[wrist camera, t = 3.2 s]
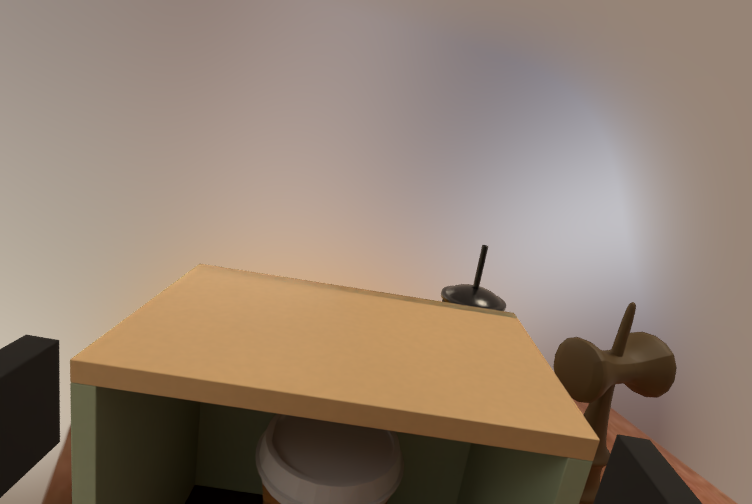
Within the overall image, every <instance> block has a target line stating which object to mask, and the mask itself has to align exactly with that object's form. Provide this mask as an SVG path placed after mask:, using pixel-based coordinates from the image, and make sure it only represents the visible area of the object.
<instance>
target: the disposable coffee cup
mask: <svg viewBox="0 0 752 504" xmlns="http://www.w3.org/2000/svg"><path fill="white" fill-rule="evenodd" d="M256 466H257V469H258V472H259V475H260V477H261V479H262V489H263V493H262V494H263V504H387V502H388V499H389V498H390V496H391V495H392V494H393V493H394V492H395V491H396V489H397V487H398V486H399V484H400V482H401V479H402V477H403V472H404V460H403V456H402V452H401V450H400V444H399V438H398V436H397V434H396V432H395V431H390V430H383V429H376V428H370V427H363V426H356V425H350V424H343V423H337V422H330V421H323V420H317V419H310V418H304V417H297V416H290V415H284V414H276V415H275V416H274V417H273V418H272V420H271V421H270V423H269V425H268V427H267V429H266V431H265V432H264V433H263V434H262V436H261V437H260V439H259V441H258V444H257V447H256Z"/></svg>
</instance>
